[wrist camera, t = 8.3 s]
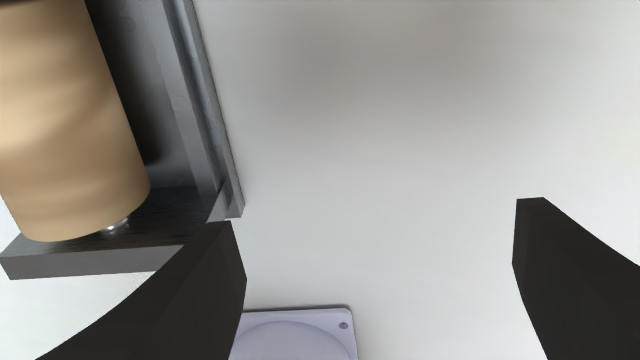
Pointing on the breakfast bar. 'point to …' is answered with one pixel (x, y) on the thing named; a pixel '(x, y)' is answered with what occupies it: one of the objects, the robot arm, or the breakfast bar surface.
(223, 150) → the holder
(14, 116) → the cylinder
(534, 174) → the breakfast bar surface
